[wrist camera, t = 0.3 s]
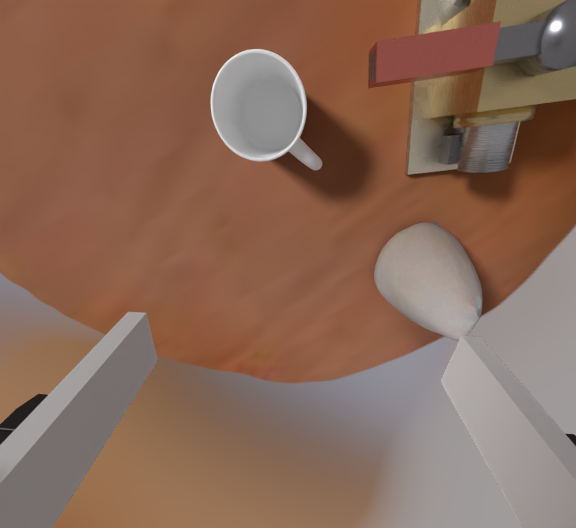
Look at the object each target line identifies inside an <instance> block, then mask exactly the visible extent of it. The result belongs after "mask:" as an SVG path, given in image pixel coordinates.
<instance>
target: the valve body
mask: <svg viewBox="0 0 576 528" xmlns="http://www.w3.org/2000/svg"><path fill="white" fill-rule="evenodd" d="M564 1H566V0H418V2H417V16H416V29H415V35H420V34H426V33H432V32H438V31H444V30H450V29H456V28H462V27H468V26H475V25H481V24H487V23H493V22H499V21H501V25H500V28H502V27H508V26H514V25H520V24H527V23H531V22H532V21H533V20H534V19H535V18H536V17H537V16H539V15H540V14H541V13H543V12H545V11H547V10H548V9H550V8H552V7H554V6H556V5H558V4H560V3H562V2H564ZM572 99H576V66H574V67H571V68H567V69H563V70H559V71H554V72H550V73H546V74H542V75H530V74H527V73H526V72H524V71H523V70H522V69H521V67H520V65H519V63H518V62H511V63H504V64H498V65H493V66H490V67H488V68H485V69H482V70H479V71H476V72H474V73H469V74H462V75H455V76H448V77H442V78H435V79H428V80H421V81H414V82H412V84H411V98H410V111H409V125H408V139H407V152H406V166H405V174H407V175H409V174H418V173H426V172H435V171H444V170H453V169H457V170H458V171H460V172H469V173H483V172H496V171H503V170H506V169H508V166H509V163H511V159H512V155H513V151H514V147H515V142H516V138H517V134H518V130H519V126H520V122H521V121H527V120H532V119H534V115H535V111H536V107H537V104H542V103H550V102H557V101H565V100H572Z"/></svg>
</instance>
